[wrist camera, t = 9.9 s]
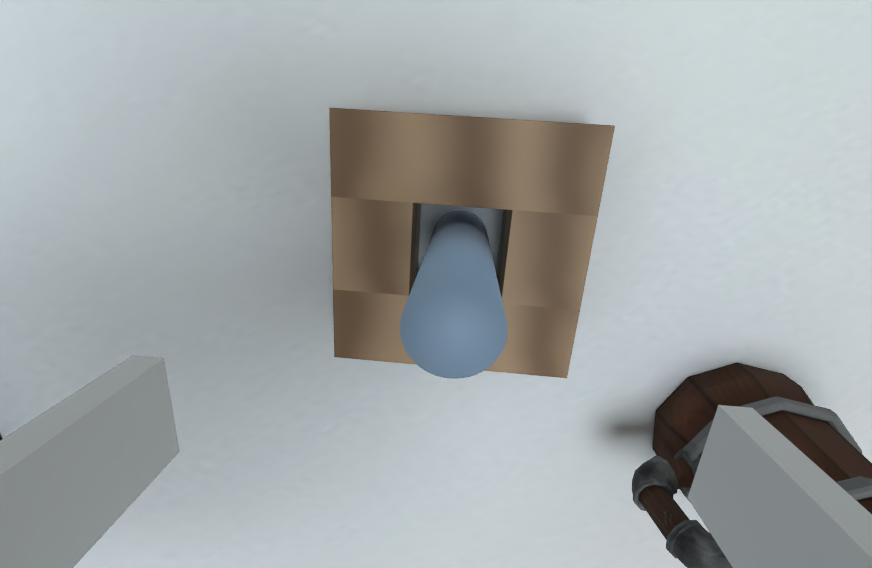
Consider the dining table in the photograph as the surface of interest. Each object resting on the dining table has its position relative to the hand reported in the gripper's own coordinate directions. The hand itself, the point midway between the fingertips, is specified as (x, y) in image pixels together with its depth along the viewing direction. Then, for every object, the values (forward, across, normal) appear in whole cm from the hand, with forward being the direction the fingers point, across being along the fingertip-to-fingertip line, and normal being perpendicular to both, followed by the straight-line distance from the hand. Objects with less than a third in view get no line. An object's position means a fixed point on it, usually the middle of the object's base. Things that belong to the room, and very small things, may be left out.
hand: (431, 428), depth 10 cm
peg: (+22, +1, 0) cm, 22 cm away
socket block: (+22, +1, 0) cm, 22 cm away
